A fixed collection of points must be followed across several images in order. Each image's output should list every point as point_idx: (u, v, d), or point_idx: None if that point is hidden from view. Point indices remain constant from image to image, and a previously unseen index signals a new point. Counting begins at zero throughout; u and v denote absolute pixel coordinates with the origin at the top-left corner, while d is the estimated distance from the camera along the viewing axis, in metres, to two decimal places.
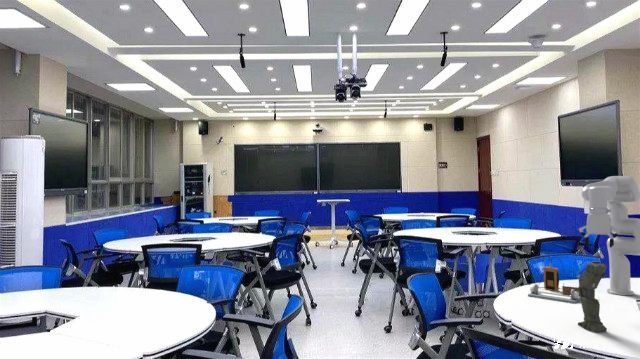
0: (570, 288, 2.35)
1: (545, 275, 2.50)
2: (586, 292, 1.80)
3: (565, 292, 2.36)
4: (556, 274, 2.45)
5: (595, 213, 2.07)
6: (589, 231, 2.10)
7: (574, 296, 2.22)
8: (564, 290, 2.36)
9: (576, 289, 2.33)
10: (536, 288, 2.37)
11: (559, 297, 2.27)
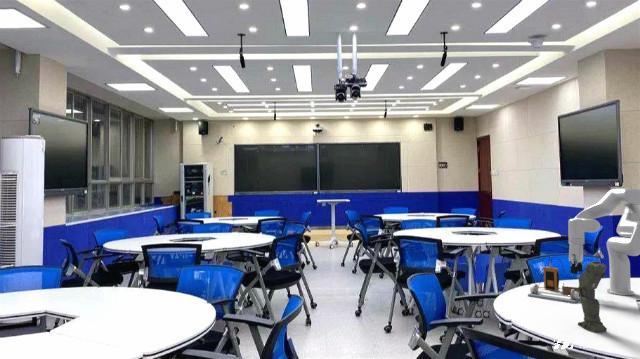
0: (570, 288, 2.35)
1: (545, 275, 2.50)
2: (586, 292, 1.80)
3: (565, 292, 2.36)
4: (556, 274, 2.45)
5: (583, 243, 2.30)
6: (579, 260, 2.28)
7: (574, 296, 2.22)
8: (564, 290, 2.36)
9: (576, 289, 2.33)
10: (536, 288, 2.37)
11: (559, 297, 2.27)
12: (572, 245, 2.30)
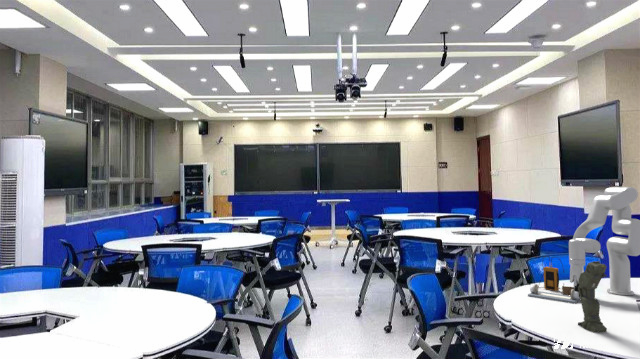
0: (570, 288, 2.34)
1: (545, 275, 2.50)
2: (586, 292, 1.80)
3: (565, 292, 2.36)
4: (556, 274, 2.45)
5: (584, 264, 2.29)
6: None
7: (574, 296, 2.22)
8: (564, 290, 2.36)
9: None
10: (536, 288, 2.37)
11: (559, 297, 2.27)
12: (573, 266, 2.30)
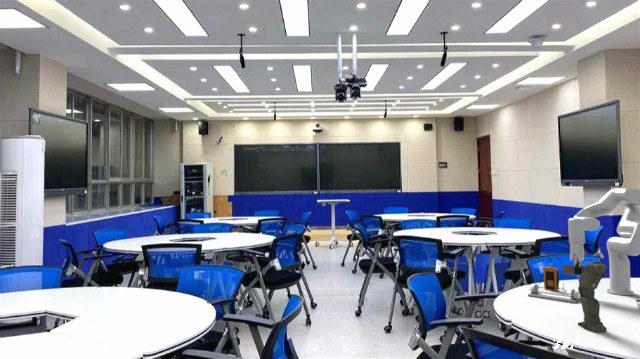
0: (570, 266, 2.35)
1: (545, 275, 2.50)
2: (586, 292, 1.80)
3: (566, 271, 2.37)
4: (556, 274, 2.45)
5: (584, 242, 2.30)
6: (580, 259, 2.29)
7: (574, 296, 2.22)
8: (565, 268, 2.37)
9: None
10: (536, 288, 2.37)
11: (559, 297, 2.27)
12: (573, 245, 2.30)
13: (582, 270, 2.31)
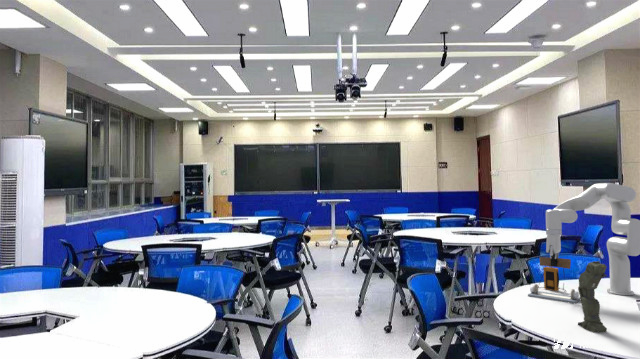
0: (547, 258, 2.34)
1: (545, 275, 2.50)
2: (586, 292, 1.80)
3: (542, 262, 2.35)
4: (556, 274, 2.45)
5: (560, 234, 2.29)
6: (556, 251, 2.27)
7: (574, 296, 2.22)
8: (541, 260, 2.35)
9: None
10: (536, 288, 2.37)
11: (559, 297, 2.27)
12: (549, 236, 2.29)
13: (558, 262, 2.30)
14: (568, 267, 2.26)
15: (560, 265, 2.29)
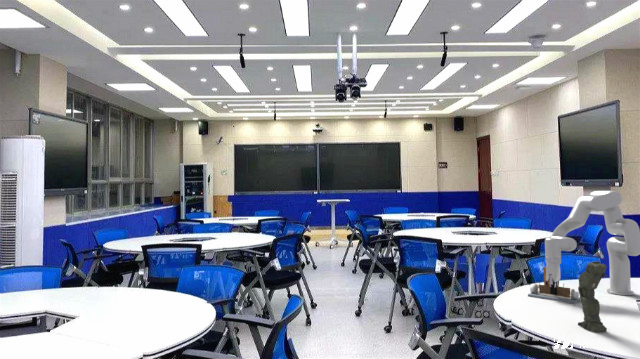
0: (546, 286, 2.33)
1: (545, 275, 2.50)
2: (586, 292, 1.80)
3: (542, 290, 2.35)
4: None
5: (560, 262, 2.28)
6: (555, 280, 2.27)
7: (574, 296, 2.22)
8: (541, 288, 2.35)
9: None
10: (536, 288, 2.37)
11: (559, 297, 2.27)
12: (549, 265, 2.28)
13: (558, 290, 2.30)
14: (568, 296, 2.25)
15: (560, 294, 2.29)
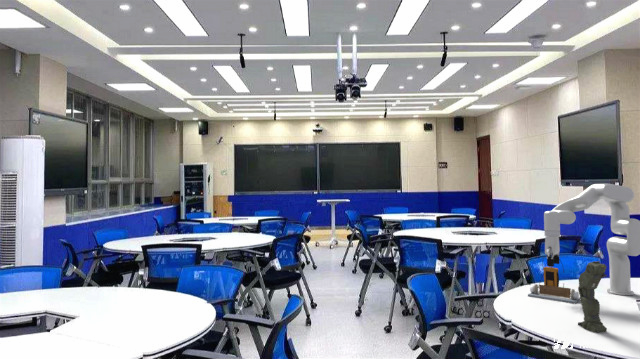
0: (546, 286, 2.33)
1: (545, 275, 2.50)
2: (586, 292, 1.80)
3: (542, 291, 2.35)
4: (556, 274, 2.45)
5: (559, 235, 2.28)
6: (555, 252, 2.27)
7: (574, 296, 2.22)
8: (541, 288, 2.35)
9: (552, 288, 2.32)
10: (536, 288, 2.37)
11: (559, 297, 2.27)
12: (548, 238, 2.29)
13: (558, 291, 2.30)
14: (568, 296, 2.25)
15: (560, 294, 2.29)
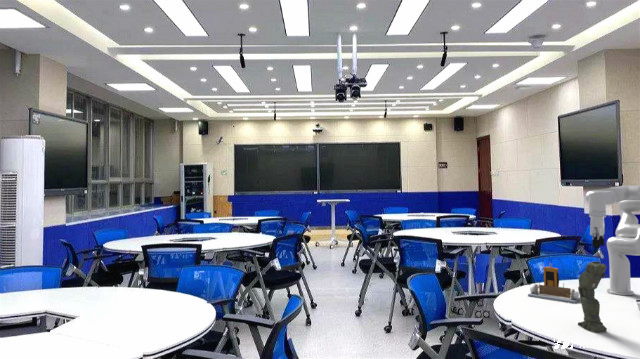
0: (546, 286, 2.33)
1: (545, 275, 2.50)
2: (586, 292, 1.80)
3: (542, 291, 2.35)
4: (556, 274, 2.45)
5: (605, 216, 2.24)
6: (601, 233, 2.23)
7: (574, 296, 2.22)
8: (541, 288, 2.35)
9: (552, 288, 2.31)
10: (536, 288, 2.37)
11: (559, 297, 2.27)
12: (593, 218, 2.24)
13: (558, 291, 2.30)
14: (568, 296, 2.25)
15: (560, 294, 2.29)
